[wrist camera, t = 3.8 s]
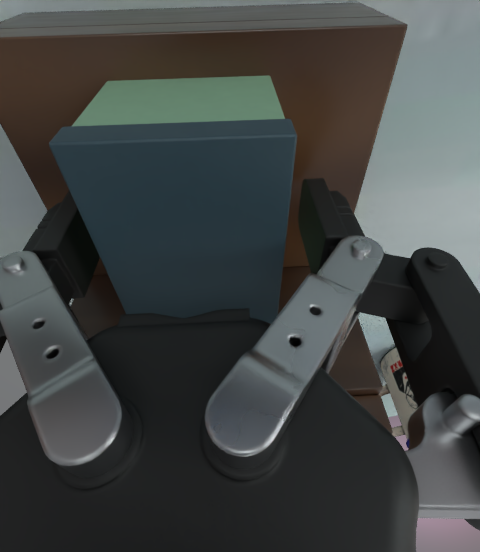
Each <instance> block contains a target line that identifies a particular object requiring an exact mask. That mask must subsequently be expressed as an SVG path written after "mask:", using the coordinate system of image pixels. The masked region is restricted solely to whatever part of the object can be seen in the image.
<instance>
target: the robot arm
mask: <svg viewBox="0 0 480 552" xmlns="http://www.w3.org/2000/svg"><path fill="white" fill-rule="evenodd" d="M353 214H354V213H353V211H352V209H351V208H350V205H349V203H348V201H347V199H346V197H344V196H343V195H342V194H341V193H339V192H338V191H329V189H328V187H327V184H326V182H325V180H324V178H315V179H304V180H303V182H302V189H301V196H300V204H299V212H298V225H299V230H300V234H301V238H302V241H303V245H304V249H305V252H306V256H307V259H308V263H309V267H310V270H311V273H310V274H309V275H308V276H307V277H306V278H305V280H304V281H303V282H302V284H301V285H300V286H299V288H298V289H297V290H296V292H295V293H294V294H293V296H292V297H291V298H290V300H289V301H288V302H287V304H286V305H285V306H284V308H283V309H282V310H281V312H280V313H279V314H278V316H277V317H276V318H275V320H274V321H273V322H272V324H270V323H267V322H265V321H262V320H259V319H255V318H250V312H249V308H244V309H223V310H215V311H211V312H207V313H203V314H200V315H196V316H192V317H188V318H179V317H173V316H167V315H161V314H155V313H142V314H121V315H120V319H119V323H118V325H115V326H112V327H110V328H107V329H105V330H103V331H101V332H99V333H97V334H95V335H94V336H92V337H91V338H89V337H88V335H87V334H86V332H85V330H84V329H83V327H82V325H81V324H80V322H79V320H78V318H77V317H76V315H75V313H74V312H73V310H72V308H71V307H70V305H69V302H70V300H71V298H85V295H86V293H87V290H88V287H89V285H90V282H91V280H92V277H93V274H94V272H95V269H96V266H97V264H98V261H99V259H100V256H99V254H98V252H97V249H96V247H95V245H94V243H93V241H92V239H91V236H90V234H89V232H88V230H87V228H86V226H85V223H84V221H83V219H82V217H81V215H80V212H79V210H78V208H77V206H76V204H75V202H74V199H73V197H72V195H71V193H70V191H68V193H67V194H66V196H65V198H64V199H63V201H62V202H60V203H57V204H56V205H55V206H53V207H52V208H51V209H49V210H48V211H47V213H46V214H45V216H44V218H43V219H42V221H41V222H40V224H39V225H38V229H36V230H35V232H34V233H33V235H32V236H31V238H30V239H29V241H28V243H27V244H26V246H25V247H24V249H23V250H22V251H19V252H15V253H12V254H9V255H7V256H5V257H3V258H1V259H0V352H1V350H2V348H3V346H4V344H5V342H6V339H7V340H8V342H9V345H10V348H11V350H12V353H13V356H14V358H15V361H16V364H17V367H18V369H19V372H20V374H21V377H22V380H23V382H24V385H25V388H26V390H27V393H26V394H25V395H24V396H23V397H21V398H20V399H19V400H18V401H17V402H16V403H15V404H14V405H12V406H11V407H10V408H9V409H8V410H7V411H6V412H4V413H3V414H2V415H1V416H0V552H416V527H417V519H418V518H451V519H465V520H466V521H467V522H468V523H469V524H470V525H472V526H473V527H475V528H476V529H478V530H480V293H479V291H478V290H477V288H476V287H475V285H474V284H473V282H472V281H471V279H470V278H469V276H468V275H467V273H466V272H465V270H464V268H463V267H462V265H461V264H460V262H459V261H458V260H457V259H456V258H455V257H454V256H452V255H451V254H449V253H447V252H445V251H443V250H440V249H436V248H421V249H418V250H416V251H415V252H414V253H413V254H412V256H411V258H405V257H399V256H393V255H389V254H385V253H384V252H383V249H382V247H381V246H380V245H379V244H378V243H377V242H376V241H374V240H372V239H370V238H367V237H365V236H364V234H363V231H362V229H361V227H360V225H359V223H358V221H357V219H356V217H355V215H353ZM360 312H361V313H366V314H371V315H375V316H380V317H384V318H386V321H387V324H388V326H389V329H390V332H391V335H392V337H393V340H394V343H395V346H396V348H397V351H398V354H399V357H400V359H401V362H402V365H403V368H404V370H405V373H406V376H407V379H408V381H409V384H410V387H411V390H412V392H413V395H414V398H415V401H416V404H417V406H418V409H417V410H416V411H415V412H414V413H413V414H412V415H411V416H410V418H409V421H408V434H409V449H408V451H404V449H403V448H402V446H401V445H400V443H399V442H398V441H397V440H396V438H395V437H394V436H393V435H392V434H391V433H390V432H389V431H388V430H387V429H386V428H385V427H384V426H383V425H382V424H381V423H380V422H379V421H378V420H377V419H376V418H375V417H374V416H372V415H371V414H370V413H369V412H368V411H367V410H366V409H365V408H364V407H363V406H362V405H361V404H360V403H359V402H358V401H357V400H355V399H354V398H353V397H352V396H351V395H350V394H349V393H348V392H347V391H346V390H345V389H344V388H343V387H342V386H341V385H339V384H338V383H337V382H336V381H335V380H334V379H333V378H332V377H331V376H330V375H329V372H330V370H331V368H332V366H333V364H334V362H335V360H336V358H337V356H338V354H339V351H340V349H341V347H342V346H343V344H344V342H345V340H346V338H347V336H348V335H349V333H350V331H351V329H352V327H353V325H354V323H355V322H356V320H357V318H358V316H359V314H360Z"/></svg>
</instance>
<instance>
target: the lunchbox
mask: <svg viewBox="0 0 480 552" xmlns="http://www.w3.org/2000/svg"><path fill="white" fill-rule="evenodd" d="M296 143H297V134H296V131H295V129H294V126H293V123H292V121H291V119H285V117H284V114H283V111H282V108H281V106H280V103H279V100H278V97H277V94H276V91H275V88H274V86H273V83H272V80H271V77H270V76H239V77H210V78H180V79H151V80H122V81H107V82H106V83H105V85H104V86H103V87H102V88H101V90H100V91H99V92H98V93H97V95H96V96H95V97H94V98H93V100H92V101H91V102H90V103H89V105H88V106H87V107H86V108H85V110H84V111H83V112H82V114H81V115H80V116H79V117H78V119H77V120H76V121H75V122H74V124H73V125H72V126H69V127H62V128H61V129H60V130H59V131H58V133H57V134H56V135H55V136H54V137H53V139H52V140H51V141H50V142H49V147H50V149H51V151H52V154H53V156H54V158H55V160H56V162H57V164H58V167H59V169H60V171H61V173H62V175H63V178H64V180H65V182H66V184H67V186H68V188H69V191H70V193H71V195H72V197H73V199H74V202H75V204H76V206H77V208H78V210H79V212H80V215H81V217H82V219H83V221H84V223H85V226H86V228H87V230H88V232H89V234H90V236H91V239H92V241H93V243H94V245H95V247H96V249H97V252H98V254H99V256H100V258H101V260H102V263H103V265H104V267H105V269H106V271H107V273H108V276H109V278H110V280H111V282H112V284H113V287H114V289H115V291H116V293H117V295H118V297H119V300H120V302H121V304H122V306H123V308H124V311H125V313H126V314H142V313H155V314H161V315H167V316H173V317H179V318H188V317H192V316H196V315H200V314H203V313H207V312H211V311H215V310H223V309H244V308H249V312H250V318H255V319H259V320H262V321H265V322H267V323H270V324H272V322H273V321H274V320H275V318H276V317H277V316H278V308H279V299H280V289H281V280H282V271H283V262H284V253H285V244H286V234H287V225H288V216H289V207H290V198H291V189H292V180H293V170H294V161H295V152H296Z"/></svg>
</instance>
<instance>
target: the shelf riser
mask: <svg viewBox="0 0 480 552" xmlns="http://www.w3.org/2000/svg"><path fill="white" fill-rule="evenodd" d="M406 30H407V24H405V23H403V22H401V21H399V20H396V19H394V18H392V17H389V16H388V15H385V14H383V13H381V12H379V11H377V10H375V9H373V8H370V7H368V6H366V5H364V4H362V3H360V2H357V3H325V4H293V5H261V6H228V7H196V8H164V9H132V10H100V11H67V12H35V13H23V14H20V15H17V16H15V17H12V18H9V19H7V20H4V21H1V22H0V124H1V125H2V127H3V129H4V131H5V133H6V135H7V136H8V138H9V140H10V142H11V144H12V146H13V148H14V149H15V151H16V153H17V155H18V157H19V159H20V160H21V162H22V164H23V166H24V168H25V170H26V172H27V173H28V175H29V177H30V179H31V181H32V183H33V184H34V186H35V188H36V190H37V192H38V194H39V196H40V197H41V199H42V201H43V203H44V205H45V207H46V208H47V210H49V209H51V208H52V207H53V206H55V205H56V204H57V203H60V202H62V201H63V199H64V198H65V196H66V194H67V193H68V191H69V188H68V186H67V184H66V182H65V180H64V178H63V175H62V173H61V171H60V169H59V167H58V164H57V162H56V160H55V158H54V156H53V154H52V151H51V149H50V147H49V142H50V141H51V140H52V139H53V137H54V136H55V135H56V134H57V133H58V131H59V130H60V129H61V128H62V127H69V126H72V125H73V124H74V122H75V121H76V120H77V119H78V117H79V116H80V115H81V114H82V112H83V111H84V110H85V108H86V107H87V106H88V105H89V103H90V102H91V101H92V100H93V98H94V97H95V96H96V95H97V93H98V92H99V91H100V90H101V88H102V87H103V86H104V85H105V83H106V82H107V81H122V80H151V79H180V78H210V77H239V76H270V77H271V80H272V83H273V86H274V88H275V91H276V94H277V97H278V100H279V103H280V106H281V108H282V111H283V114H284V117H285V119H291V121H292V123H293V126H294V129H295V131H296V134H297V143H296V152H295V161H294V170H293V180H292V189H291V198H290V207H289V216H288V225H287V234H286V244H285V253H284V262H283V271H282V280H281V289H280V299H279V308H278V314H279V313H280V312H281V310H282V309H283V308H284V306H285V305H286V304H287V302H288V301H289V300H290V298H291V297H292V296H293V294H294V293H295V292H296V290H297V289H298V288H299V286H300V285H301V284H302V282H303V281H304V280H305V278H306V277H307V276H308V275H309V274H310V273H311V270H310V267H309V263H308V259H307V256H306V252H305V249H304V245H303V241H302V238H301V234H300V230H299V225H298V212H299V204H300V196H301V189H302V182H303V180H304V179H315V178H324V180H325V182H326V184H327V187H328V189H329V191H338V192H339V193H341V194H342V195H343V196H344V197H346V199H347V201H348V203H349V205H350V208H351V209H352V211H353V213H354V211H355V208H356V204H357V201H358V197H359V194H360V191H361V187H362V184H363V180H364V177H365V173H366V170H367V166H368V163H369V159H370V156H371V152H372V149H373V145H374V142H375V138H376V135H377V131H378V128H379V124H380V121H381V117H382V114H383V110H384V107H385V103H386V100H387V96H388V93H389V89H390V86H391V82H392V79H393V75H394V72H395V68H396V65H397V61H398V58H399V54H400V51H401V47H402V44H403V40H404V37H405V33H406ZM353 215H354V214H353ZM71 308H72V310H73V312H74V313H75V315H76V317H77V318H78V320H79V322H80V324H81V325H82V327H83V329H84V330H85V332H86V334H87V335H88V337H89V338H91V337H92V336H94V335H95V334H97V333H99V332H101V331H103V330H105V329H107V328H110V327H112V326H115V325H118V323H119V319H120V315H121V314H126V313H125V311H124V308H123V306H122V304H121V302H120V300H119V297H118V295H117V293H116V291H115V289H114V287H113V284H112V282H111V280H110V278H109V276H108V273H107V271H106V269H105V267H104V265H103V263H102V260H101V258H100V259H99V261H98V264H97V266H96V269H95V272H94V274H93V277H92V280H91V282H90V285H89V287H88V290H87V293H86V295H85V298H74V300H73V302H72V305H71ZM329 375H330V376H331V377H332V378H333V379H334V380H335V381H336V382H337V383H338V384H339V385H341V386H342V387H343V388H344V389H345V390H346V391H347V392H348V393H349V394H350V395H351V396H352V397H353V398H354V399H355V400H357V401H358V402H359V403H360V404H361V405H362V406H363V407H364V408H365V409H366V410H367V411H368V412H369V413H370V414H371V415H372V416H374V417H375V418H376V419H377V420H378V421H379V422H380V423H381V424H382V425H383V426H384V427H385V428H386V429H387V430H388V431H389V432H390V433H391V434H392V433H393V431H392V428H391V425H390V422H389V419H388V416H387V413H386V410H385V408H384V405H383V402H382V399H381V396H380V395H379V394H380V392H381V391H382V389H383V387H382V384H381V381H380V378H379V375H378V373H377V370H376V367H375V364H374V361H373V359H372V356H371V353H370V350H369V347H368V345H367V342H366V339H365V336H364V334H363V331H362V328H361V325H360V322H359V320H358V318H357V320H356V322H355V323H354V325H353V327H352V329H351V331H350V333H349V335H348V336H347V338H346V340H345V342H344V344H343V346H342V347H341V349H340V351H339V354H338V356H337V358H336V360H335V362H334V364H333V366H332V368H331V370H330V372H329Z"/></svg>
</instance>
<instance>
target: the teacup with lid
mask: <svg viewBox="0 0 480 552" xmlns="http://www.w3.org/2000/svg"><path fill="white" fill-rule="evenodd" d="M381 370H382V372H383V375H384V378H385V380H386V383H387V385H384V386H382V387H383V389H382V391H381V392H380V394H379V395H380V396H383V395H385V394H389V393H390V394H391V397H392V400H393V402H394V405H395V408H396V410H397V413H398V416H399V419H400V421H401V424H402V426H398V427H394V428H392V431H393V433H392V435H393V436H394V437H396V436H401V435H406V437H407V442H406V445H407V447H408V448H409V434H408V421H409V418H410V416H411V415H412V414H413V413H414V412H415V411H416V410H417V409H418V406H417V404H416V401H415V398H414V395H413V392H412V390H411V387H410V384H409V381H408V379H407V376H406V373H405V370H404V368H403V365H402V362H401V359H400V357H399V354H398V351H397V348H394V349H392V350H391V351H390V352H388V353H387V354H386V355H385V357H384V358H383V360H382V362H381Z"/></svg>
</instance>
